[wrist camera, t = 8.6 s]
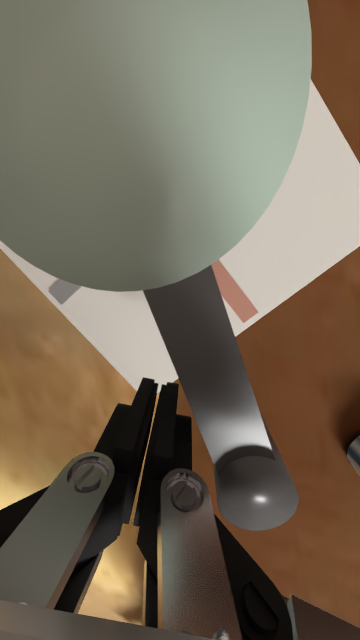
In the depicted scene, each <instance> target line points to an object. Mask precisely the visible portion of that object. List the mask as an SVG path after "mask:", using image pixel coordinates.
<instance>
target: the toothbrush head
mask: <svg viewBox="0 0 360 640" xmlns="http://www.w3.org/2000/svg"><path fill="white" fill-rule="evenodd" d="M347 458H348V460H349V461H350V462H351V464H352V467H353V468H354V469H355V471H356V472H357V473H358V474H359V475H360V435H359V436H358V437H357V438H356V439H355V440H354V441H353V442H352V443H351V444H350V445H349V448H348V453H347Z"/></svg>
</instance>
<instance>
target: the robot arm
mask: <svg viewBox="0 0 360 640" xmlns="http://www.w3.org/2000/svg"><path fill="white" fill-rule="evenodd" d="M154 381H155V379H150V378H145V377H143V378H142V381H141V383H140V386H139V388H138V391H137V393H136V396H135V398H134V400H133V403H132V405H131V406H130V405H125V404H120V403H119V404H118V405H117V406H116V408H115V410H114V412H113V414H112V416H111V418H110V420H109V422H108V424H107V426H106V428H105V430H104V432H103V434H102V436H101V438H100V440H99V442H98V444H97V446H96V448H95V450H94V452H88V453H84V454H81V455H79V456H77V457H76V458H74V459H72V460H71V461H70V462H69V463H68V464H67V465H66V466H65V468H64V469H63V470H62V471H61V473H60V474H59V475H58V476H57V478H56V479H55V480H54V481H53V483H52V484H51V485H50V486H48V487H46V488H44V489H42V490H40V491H38V492H36V493H34V494H32V495H30V496H28V497H26V498H24V499H22V500H20V501H18V502H16V503H14V504H12V505H10V506H8V507H6V508H4V509H2V510H0V640H360V628H359V627H357V626H355V625H353V624H351V623H348V622H346V621H344V620H342V619H340V618H338V617H336V616H334V615H332V614H330V613H328V612H326V611H324V610H322V609H320V608H318V607H316V606H314V605H312V604H310V603H308V602H306V601H304V600H302V599H300V598H298V597H296V596H294V595H292V594H291V596H290V598H287V597H285V596H283V595H281V594H280V592H279V591H278V589H277V588H276V587H275V585H274V584H273V582H272V581H271V580H270V579H269V578H268V576H267V575H266V574H265V573H264V572H263V570H262V569H261V568H260V567H259V566H258V565H257V563H256V562H255V561H254V560H253V559H252V558H251V556H250V555H249V554H248V553H247V552H246V551H245V549H244V548H243V547H242V546H241V545H240V544H239V542H238V541H237V540H236V539H235V538H234V536H233V535H232V534H231V533H230V532H229V531H228V529H227V528H226V527H225V526H224V525H223V524H222V522H221V521H220V520H219V519H218V518H217V517H216V515H215V514H214V512H213V508H212V503H211V499H210V494H209V491H208V488H207V485H206V483H205V482H204V481H203V479H202V478H201V477H200V476H199V475H198V474H196V473H195V472H193V471H192V430H191V417H188V416H183V415H177V414H176V410H177V398H178V387H179V384H176V383H171V382H167V385H164V384H162V386H161V391H160V395H159V399H158V404H157V408H156V413H155V417H154V422H153V426H152V431H151V435H150V440H149V444H148V449H147V454H146V459H145V464H144V469H143V475H142V480H141V486H140V491H139V497H138V502H137V508H136V513H135V519H134V524H133V525H134V526H140V528H139V533H138V538H137V545H138V547H139V548H140V550H141V552H142V554H143V556H144V558H145V564H144V585H143V613H142V626H141V625H136V624H130V623H125V622H119V621H114V620H108V619H103V618H97V617H92V616H86V615H81V614H78V612H79V609H80V607H81V604H82V602H83V600H84V597H85V595H86V593H87V590H88V588H89V586H90V583H91V581H92V578H93V576H94V574H95V571H96V569H97V567H98V564H99V562H100V560H101V557H102V553H103V550H104V549H105V548H106V547H107V546H109V545H110V544H111V543H112V542H114V541H115V540H116V539H117V536H119V535H120V531H121V527H122V523H124V524H129V520H130V516H131V512H132V507H133V503H134V499H135V494H136V490H137V486H138V482H139V477H140V473H141V469H142V464H143V460H144V456H145V451H146V447H147V443H148V438H149V434H150V428H151V423H152V417H153V412H154V406H155V401H156V395H157V390H158V384H159V383H154Z"/></svg>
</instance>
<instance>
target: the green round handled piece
mask: <svg viewBox="0 0 360 640" xmlns="http://www.w3.org/2000/svg"><path fill="white" fill-rule="evenodd" d="M311 67H312V52H311V25H310V17H309V9H308V1H307V0H0V241H1V242H3V243H4V244H5V245H6V246H7V247H8V248H10V249H11V250H12V251H13V252H14V253H15V254H17V255H18V256H20V257H21V258H23V259H24V260H26V261H27V262H29V263H30V264H32V265H33V266H34V267H36V268H38V269H40V270H42V271H44V272H46V273H48V274H50V275H52V276H54V277H56V278H59V279H61V280H64V281H67V282H69V283H72V284H74V285H79V286H83V287H87V288H91V289H95V290H105V291H114V292H125V291H141V290H143V293H144V295H145V297H146V300H147V302H148V305H149V307H150V310H151V312H152V314H153V317H154V319H155V322H156V324H157V327H158V329H159V332H160V334H161V336H162V339H163V341H164V344H165V346H166V349H167V351H168V354H169V356H170V358H171V361H172V363H173V366H174V368H175V371H176V373H177V375H178V378H179V380H180V383H181V385H182V388H183V390H184V393H185V395H186V397H187V400H188V402H189V405H190V407H191V410H192V412H193V415H194V417H195V419H196V422H197V424H198V427H199V429H200V432H201V434H202V436H203V439H204V441H205V444H206V446H207V449H208V451H209V454H210V456H211V458H212V461H213V468H214V476H215V485H216V494H217V502H218V507H219V510H220V512H221V514H222V515H223V517H224V518H225V519H226V520H227V521H228V522H230V523H231V524H233V525H235V526H237V527H239V528H242V529H246V530H253V531H260V530H268V529H272V528H275V527H277V526H279V525H281V524H283V523H285V522H286V521H287V520H289V519H290V518H291V517H292V515H293V514H294V513H295V511H296V509H297V506H298V501H299V497H298V492H297V490H296V487H295V485H294V483H293V481H292V479H291V477H290V474H289V472H288V470H287V468H286V466H285V464H284V462H283V460H282V458H281V455H280V453H279V451H278V449H277V447H276V445H275V443H274V441H273V438H272V436H271V434H270V432H269V430H268V428H267V426H266V424H265V421H264V419H263V417H262V415H261V413H260V411H259V408H258V405H257V402H256V399H255V396H254V393H253V390H252V387H251V384H250V381H249V378H248V375H247V372H246V369H245V366H244V363H243V360H242V357H241V354H240V351H239V347H238V344H237V341H236V338H235V335H234V332H233V329H232V326H231V323H230V320H229V317H228V314H227V311H226V308H225V305H224V302H223V299H222V296H221V293H220V290H219V287H218V284H217V281H216V278H215V274H214V271H213V268H212V265H211V264H213V263H214V262H216V261H217V260H219V259H220V258H221V257H222V256H224V255H225V254H226V253H227V252H228V251H230V250H231V249H232V248H233V247H235V246H236V245H237V244H238V243H239V242H240V240H241V239H242V238H243V237H244V236H245V235H246V234H247V233H248V232H249V231H250V230H251V229H252V228H253V227H254V225H255V224H256V223H257V221H258V220H259V219H260V217H261V216H262V215H263V213H264V212H265V211H266V209H267V208H268V206H269V205H270V203H271V201H272V199H273V198H274V196H275V194H276V193H277V191H278V189H279V188H280V186H281V184H282V182H283V180H284V177H285V175H286V173H287V171H288V168H289V166H290V164H291V162H292V159H293V157H294V154H295V150H296V147H297V144H298V141H299V138H300V135H301V132H302V128H303V123H304V118H305V113H306V108H307V103H308V99H309V88H310V78H311Z"/></svg>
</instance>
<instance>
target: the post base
mask: <svg viewBox="0 0 360 640" xmlns="http://www.w3.org/2000/svg"><path fill="white" fill-rule="evenodd" d="M359 246H360V164H359V162H358V160H357V159H356V157H355V155H354V153H353V152H352V150H351V148H350V146H349V145H348V143H347V141H346V140H345V138H344V136H343V134H342V133H341V131H340V129H339V127H338V126H337V124H336V122H335V120H334V119H333V117H332V115H331V114H330V112H329V110H328V108H327V107H326V105H325V103H324V101H323V100H322V98H321V96H320V95H319V93H318V91H317V89H316V88H315V86H314V84H313V82H312V81H311V79H310V88H309V99H308V103H307V108H306V113H305V118H304V123H303V128H302V132H301V135H300V138H299V141H298V144H297V147H296V150H295V154H294V157H293V159H292V162H291V164H290V166H289V168H288V171H287V173H286V175H285V177H284V180H283V182H282V184H281V186H280V188H279V189H278V191H277V193H276V194H275V196H274V198H273V199H272V201H271V203H270V205H269V206H268V208H267V209H266V211H265V212H264V213H263V215H262V216H261V217H260V219H259V220H258V221H257V223H256V224H255V225H254V227H253V228H252V229H251V230H250V231H249V232H248V233H247V234H246V235H245V236H244V237H243V238H242V239H241V240H240V242H239V243H238V244H237V245H236V246H235V247H233V248H232V249H231V250H230V251H228V252H227V253H226V254H225V255H224V256H222V257H221V258H220V259H219V260H217V261H216V262H214V263H213V264H211V265H212V268H213V271H214V274H215V278H216V281H217V284H218V287H219V290H220V293H221V296H222V299H223V302H224V305H225V308H226V311H227V314H228V317H229V320H230V323H231V326H232V329H233V332H234V335H235V336H237V335H238V334H240V333H241V332H242V331H244V330H245V329H246V328H248V327H249V326H251V325H252V324H253V323H255V322H256V321H257V320H259V319H260V318H262V317H263V316H264V315H266V314H267V313H268V312H270V311H271V310H272V309H274V308H275V307H277V306H278V305H279V304H281V303H282V302H283V301H285V300H286V299H288V298H289V297H290V296H292V295H293V294H294V293H296V292H297V291H299V290H300V289H301V288H303V287H304V286H305V285H307V284H308V283H310V282H311V281H312V280H314V279H315V278H316V277H318V276H319V275H320V274H322V273H323V272H325V271H326V270H327V269H329V268H330V267H331V266H333V265H334V264H336V263H337V262H338V261H340V260H341V259H342V258H344V257H345V256H347V255H348V254H349V253H351V252H352V251H353V250H355V249H356V248H358V247H359ZM0 249H1V250H2V251H3V252H4V253H5V254H6V255H7V256H8V257H9V258H10V259H11V260H12V261H13V262H14V263H15V264H16V266H17V267H18V268H19V269H20V270H21V271H22V272H23V273H24V274H25V275H26V276H27V277H28V278H29V279H30V280H31V281H32V282H33V283H34V284H35V285H36V286H37V287H38V288H39V290H40V291H41V292H42V293H43V294H44V295H45V296H46V297H47V298H48V299H49V300H50V301H51V302H52V303H53V304H54V305H55V306H56V307H57V308H58V309H59V310H60V311H61V312H62V314H63V315H64V316H65V317H66V318H67V319H68V320H69V321H70V322H71V323H72V324H73V325H74V326H75V327H76V328H77V329H78V330H79V331H80V332H81V333H82V334H83V335H84V336H85V338H86V339H87V340H88V341H89V342H90V343H91V344H92V345H93V346H94V347H95V348H96V349H97V350H98V351H99V352H100V353H101V354H102V355H103V356H104V357H105V358H106V359H107V360H108V362H109V363H110V364H111V365H112V366H113V367H114V368H115V369H116V370H117V371H118V372H119V373H120V374H121V375H122V376H123V377H124V378H125V379H126V380H127V381H128V382H129V383H130V384H131V386H132V387H133V388H134V389H135V390H136V391H138V388H139V386H140V383H141V381H142V378H143V377H145V378H150V379H155V381H154V383H159V384H158V390H157V393H159V392H160V391H161V386H162V384H164V385H167V382H171V383H172V382H174V381H175V380H176V379H178V375H177V373H176V371H175V368H174V366H173V363H172V361H171V358H170V356H169V354H168V351H167V349H166V346H165V344H164V341H163V339H162V336H161V334H160V332H159V329H158V327H157V324H156V322H155V319H154V317H153V314H152V312H151V310H150V307H149V305H148V302H147V300H146V297H145V295H144V293H143V290H141V291H125V292H114V291H105V290H95V289H91V288H87V287H83V286H79V285H74V284H72V283H69V282H67V281H64V280H61V279H59V278H56V277H54V276H52V275H50V274H48V273H46V272H44V271H42V270H40V269H38V268H36V267H34V266H33V265H32V264H30V263H29V262H27V261H26V260H24V259H23V258H21V257H20V256H18V255H17V254H15V253H14V252H13V251H12V250H11V249H10V248H8V247H7V246H6V245H5V244H4V243H3V242H1V241H0Z"/></svg>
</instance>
